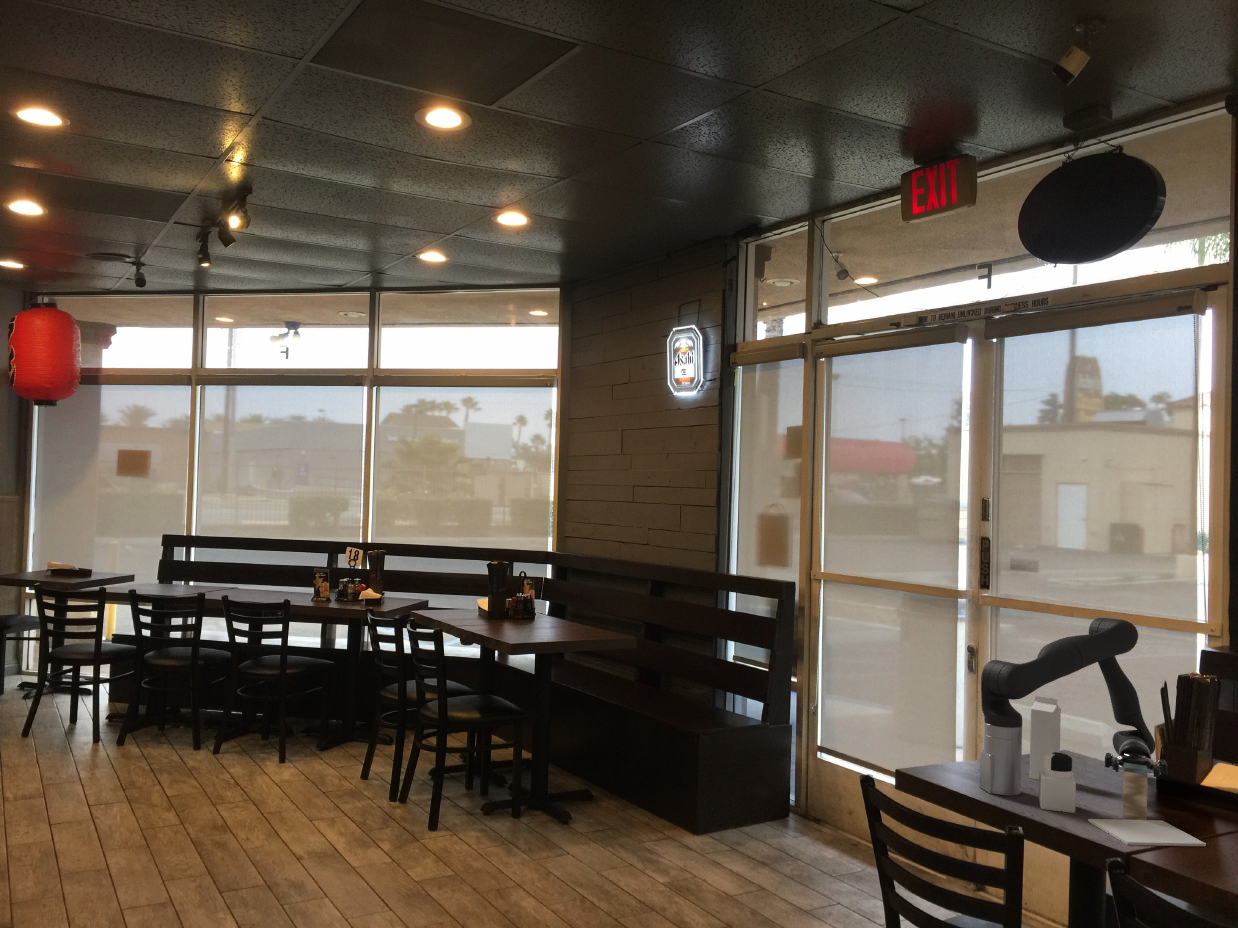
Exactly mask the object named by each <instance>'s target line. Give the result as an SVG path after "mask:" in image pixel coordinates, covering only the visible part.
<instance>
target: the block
mask: <svg viewBox="0 0 1238 928" xmlns="http://www.w3.org/2000/svg"><path fill="white" fill-rule="evenodd" d="M1122 781H1123V784H1122V787H1123V788H1122V818H1123V819H1127V820H1148V819H1147V817H1148V816H1147V815H1148V813H1147V811H1148V773H1147V766H1145V765H1137V764H1130V763H1124V770H1123V780H1122Z"/></svg>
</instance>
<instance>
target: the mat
mask: <svg viewBox="0 0 1238 928" xmlns="http://www.w3.org/2000/svg"><path fill="white" fill-rule="evenodd" d="M1087 820H1088V823H1090V824H1091V825H1093V826H1094V827H1097V828H1098V829H1100V830H1101V831H1103V832H1105V833H1107V834H1108V833H1109V834H1108V835H1110V836H1112V837H1113V838H1115V839H1117V840H1118V839H1119V840H1118V841H1120V840H1121V841H1120V842H1122V843H1123V844H1125V845H1127V844H1129V845H1128V846H1160V847H1161V846H1163V847H1165V846H1167V847H1169V846H1170V847H1173V846H1174V847H1206V846H1207V843H1206V842H1204V841H1201V840H1199V839H1198V838H1196V837H1194V836H1192V835H1191V834H1189V833H1186V832H1185V831H1182V830H1181V829H1179V828H1177V827H1175V826H1173V825H1171V824H1170V823H1168V822H1166V821H1163V820H1162V819H1161V820H1160V819H1159V820H1158V819H1156V820H1155V819H1147V820H1135V819H1117V818H1116V819H1114V818H1113V819H1112V818H1111V819H1109V818H1108V819H1107V818H1105V819H1104V818H1102V819H1100V818H1088V819H1087Z"/></svg>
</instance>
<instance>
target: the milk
mask: <svg viewBox="0 0 1238 928" xmlns="http://www.w3.org/2000/svg"><path fill="white" fill-rule="evenodd" d="M1061 712H1062V709H1061V708H1060V707H1059V705H1058V699H1057V698H1053V697H1045V696H1040V695H1039V696H1038V695H1035V697H1034V702H1033V704H1032V706H1031V708H1030V733H1029V734H1030V737H1029V738H1030V741H1029V742H1030V743H1029V774H1028V775H1029V777H1028V778H1029V779H1032V780H1037V781H1039V771H1040V770H1043V755H1044V754H1045V753H1048V752H1058V753H1061V721H1062V720H1061V718H1062V717H1061V716H1062V713H1061Z"/></svg>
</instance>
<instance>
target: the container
mask: <svg viewBox="0 0 1238 928" xmlns="http://www.w3.org/2000/svg"><path fill="white" fill-rule="evenodd" d="M1076 794H1077V782H1076V779H1075V777H1074V775H1073V758H1072V757H1071V756H1070V755H1068V754H1066V753H1063V752H1060V753H1058V752H1048V753H1045V754H1044V755H1043V770H1040V771H1039V780H1038V801H1039V805H1040V809H1041V810H1044V811H1045V810H1046V811H1055V812H1061V811H1062V812H1063V813H1069V814H1070V813H1071V814H1075V813H1076V803H1077V802H1076V800H1077V799H1076V797H1077V795H1076ZM1062 812H1061V813H1062Z"/></svg>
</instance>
